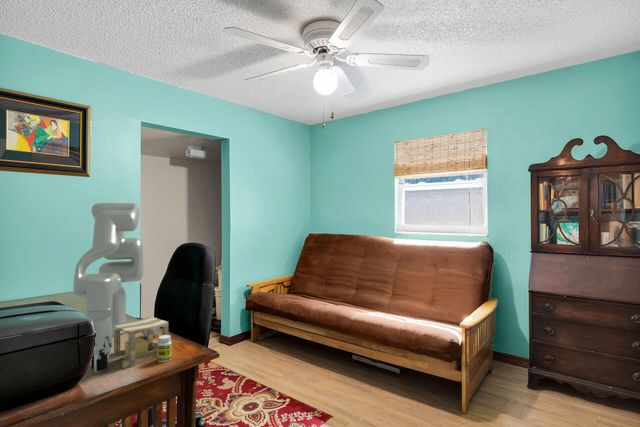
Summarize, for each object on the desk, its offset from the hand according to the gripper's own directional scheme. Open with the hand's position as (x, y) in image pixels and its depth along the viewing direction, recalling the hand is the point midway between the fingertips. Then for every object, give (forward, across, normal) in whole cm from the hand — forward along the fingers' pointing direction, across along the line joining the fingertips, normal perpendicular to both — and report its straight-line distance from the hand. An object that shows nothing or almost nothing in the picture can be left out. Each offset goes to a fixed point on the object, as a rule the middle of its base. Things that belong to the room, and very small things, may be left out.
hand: (99, 368), depth 116 cm
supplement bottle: (+1, +10, +17) cm, 20 cm away
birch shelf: (+1, 0, +14) cm, 14 cm away
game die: (+1, -17, +28) cm, 32 cm away
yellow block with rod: (+1, 0, +7) cm, 7 cm away
